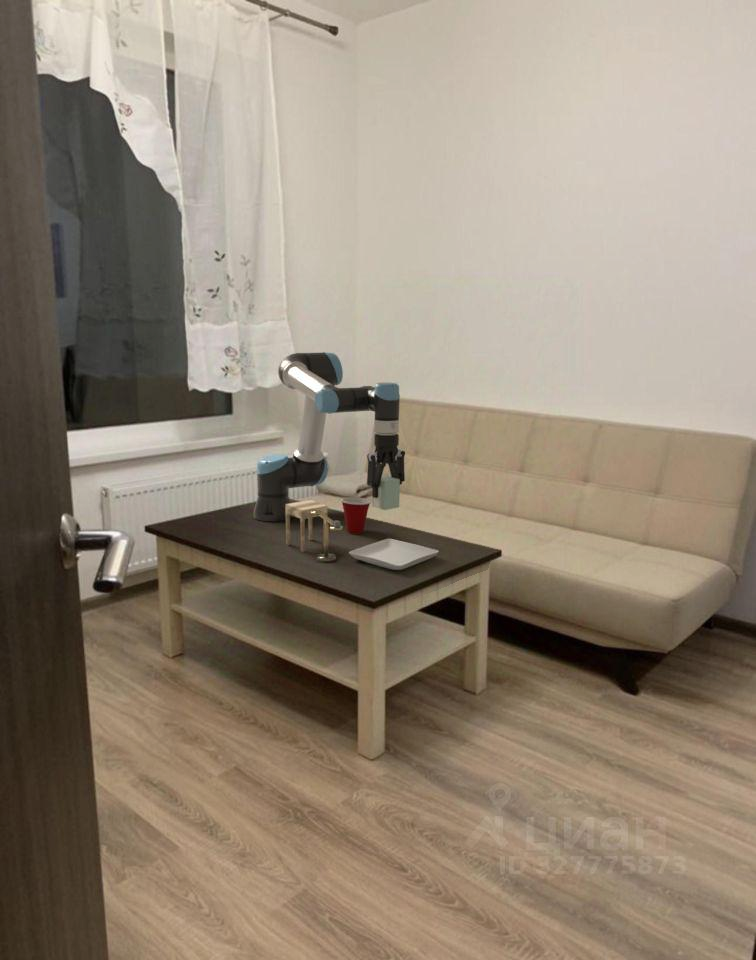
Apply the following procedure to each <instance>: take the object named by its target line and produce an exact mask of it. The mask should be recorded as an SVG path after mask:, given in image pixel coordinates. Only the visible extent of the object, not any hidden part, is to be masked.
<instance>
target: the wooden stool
mask: <svg viewBox="0 0 756 960" xmlns="http://www.w3.org/2000/svg"><path fill="white" fill-rule="evenodd" d="M285 507H286V520H285V545H287V546H290V545H291V518H290V515H292V516H293V517H295V518H298V519H300V521H299V522H300V523H299V524H300V530H299V531H300V534H299V535H300V552H301V553H302V552H306V541H305V540H306V539H305V538H306V536H305V535H306V534H305V533H306V531H305V530H306V529H305V527H306V526H305V523H306V522H305V521H306V519H307V520H308V521H307V525H308V526H307V529H308V530H307V531H308V532H307V534H308V535H307V537H308V538H307V539H308V541H312V540H313V518H315V517H320V516H319V515H312V514H311V511H313V510H321V511H323V514H325V515H326V516H327V517H328V505H326V504H323V503H320V502H318V501H315V500H312V499H309V500H308V499H307V500H301V501H295V502H291V503H289V504H285ZM322 524H323V525H322V528H323V531H322V534H323V535H322V536H323V537H322V539H323V540H322V541H323V542H322V543H323V545H322V546H323V547H324V548H325V520H324V519H323V518H322Z"/></svg>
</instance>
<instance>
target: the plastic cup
mask: <svg viewBox="0 0 756 960" xmlns="http://www.w3.org/2000/svg"><path fill="white" fill-rule="evenodd" d="M340 501H341V503H342V508H343V514H344V520H345V525H346V531H347V533H348V534H351V535H361V534H363V533H364V531H365V527H366V526H365V525H366V521H367V515H368V510H369V507H370V504H371V503H372V501H371V500H370V499H367V498H364V497H363V498H362V497H354V496H352V497H351V496H350V497H343V498H341V499H340Z"/></svg>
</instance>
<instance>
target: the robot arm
mask: <svg viewBox="0 0 756 960" xmlns="http://www.w3.org/2000/svg"><path fill="white" fill-rule="evenodd" d="M277 371H278V372H277V374H278V377H279V380H280V382H281V383H282V384H283V385H284V386H285V387H287V388H289V389H291V390H297V391H298V392H300V393H302V394H303V395H305V396H304V402H303V410H302V411H303V412H302V418H301V425H300V433H299V441H298V446H297V448H295V449H294V450H293V455H292V457H289V456H288V454H284V453H279V454H270V455H269V454H268V455H265V456H263V457H261V458H260V459H258V461H257V465H256V466H257V469H256V478H257V479H256V480H257V481H256V482H257V499H256V502H255V505H254V508H253V518H254V519H255V520H258V521H262V522H282V521H286V507H285V504H289V503H292V502H291V499H290V496H289V495H290V494H289V493H290V492H289V491H290V490H289V489H295V488H303V487H314V486H319V485H321V484H323V483H325V481H326V479H327V475H328V471H329V467H328V460H327V458H326V457H325V455H324V452H322V446H323V438H324V431H325V430H324V429H325V424H326V418H327V414H339V413H341V414H342V413H351V412H352V413H353V412H370V411H371V412H374V442H373V444H374V447H375V448H374V449H375V450H374V452H373V453H371V454H370V453H368V454H367V455H366V458H367V474H366V475H367V477H366V485H367V486H369V487H371V489H372V492H371V493H372V495H371V496H372V498H373V497H374V507H373V508H377V509H380V508H381V488H380V487H379V485H380V481H381V477H383V473H384V469H385V467H386V466H387V465H388V468H389V473H390V477H393V478H397V479H400V486H401V485H403V482H405V480H406V479H405V478H406V477H405V476H406V475H405V456H406V450H402V449H398V446H399V443H400V442H399V440H400V435H399V432H400V429H399V428H400V422H399V421H400V398H401V396H400V386H399V384H398V383H397V382H377V383H376V384H375V385H374V386H371V385H362V386H359V387H337V386H338V385H341V383H342V381H343V378H344V376H343V375H344V372H343V365H342V362H341V359H340V358H339V356H338V355H337V354H336V353H334V352H325V351H322V352H295V353H291V354H289V355H287V356H285V357H284V358H283V360H282V361H280V364H279V367H278V370H277ZM293 517H294V516H292V515H290V519H292V518H293Z"/></svg>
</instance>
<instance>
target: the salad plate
mask: <svg viewBox="0 0 756 960" xmlns="http://www.w3.org/2000/svg"><path fill="white" fill-rule="evenodd" d="M439 552H440V550H437V549H433V548H431V547H426V546H423V545H420V544H414V543H413V542H412V543H411V542H406V541H401V540H399V539H398V540H397V539H393V538H386V539H383V540H380V541H376V542H373V543H370V544H367V545H364V546H362V547H359V548H356V549H353V550H350V551H349V552H348V553H349V555H350V556H351V557H352V558H354V559H356V560H358V561H362V562H364V563H367V564H371V565H374V566H378V567H382V568H385V569H388V570H392V571H393V570H394V571H402V570H405V569H408V568H410V567H413V566H415V565H417V564H419V563H422V562H424V561H428V560H431V559H432V558H435V556H437V555H438V554H439Z"/></svg>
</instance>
